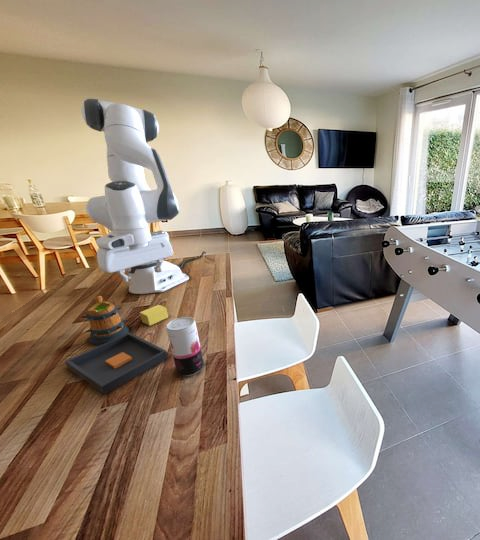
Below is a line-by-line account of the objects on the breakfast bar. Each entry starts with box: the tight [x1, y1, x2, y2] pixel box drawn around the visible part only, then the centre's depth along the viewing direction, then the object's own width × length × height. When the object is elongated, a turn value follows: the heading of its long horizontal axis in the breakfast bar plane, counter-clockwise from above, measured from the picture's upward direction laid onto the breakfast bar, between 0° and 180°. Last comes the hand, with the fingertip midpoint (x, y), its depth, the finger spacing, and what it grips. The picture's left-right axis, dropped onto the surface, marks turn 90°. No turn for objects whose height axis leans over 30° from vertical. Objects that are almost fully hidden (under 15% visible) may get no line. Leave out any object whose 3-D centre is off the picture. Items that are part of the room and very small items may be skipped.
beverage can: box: [165, 316, 205, 377], centre depth 77 cm, size 6×6×15 cm
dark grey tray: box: [64, 331, 169, 395], centre depth 80 cm, size 16×19×2 cm
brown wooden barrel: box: [81, 295, 130, 346], centre depth 91 cm, size 13×10×12 cm
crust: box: [105, 352, 132, 369], centre depth 80 cm, size 4×4×1 cm
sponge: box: [139, 304, 169, 327], centre depth 101 cm, size 6×4×4 cm
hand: (143, 276), depth 95 cm, fingers open, 8 cm apart
